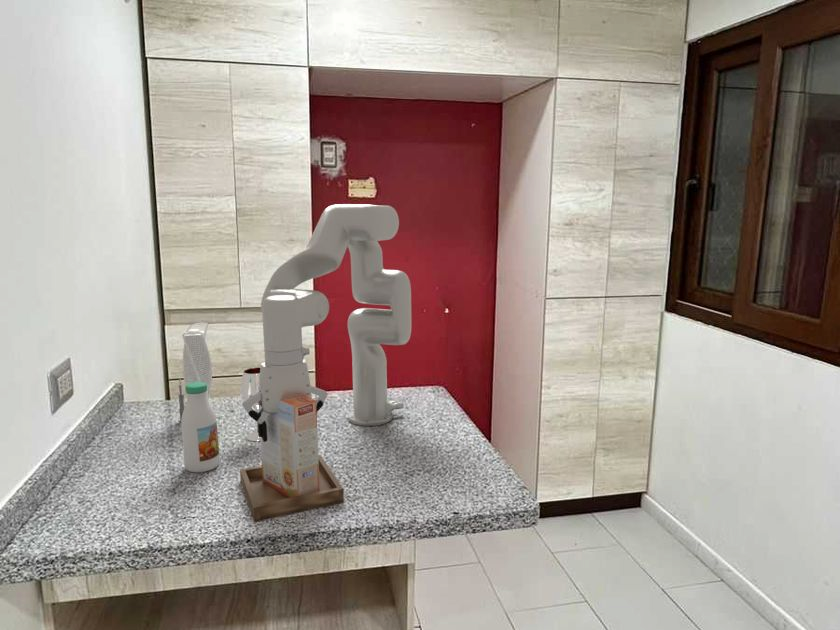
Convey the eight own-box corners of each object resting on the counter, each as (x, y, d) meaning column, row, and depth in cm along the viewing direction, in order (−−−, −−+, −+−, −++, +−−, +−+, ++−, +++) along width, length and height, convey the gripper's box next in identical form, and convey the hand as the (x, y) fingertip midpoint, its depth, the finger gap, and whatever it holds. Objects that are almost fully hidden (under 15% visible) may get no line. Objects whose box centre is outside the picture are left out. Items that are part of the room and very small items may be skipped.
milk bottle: (186, 476, 133) (179, 391, 129) (183, 462, 140) (176, 382, 136) (222, 469, 137) (216, 386, 133) (217, 456, 143) (211, 377, 139)
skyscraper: (205, 413, 172) (197, 319, 167) (222, 419, 168) (215, 323, 162) (178, 422, 166) (170, 325, 160) (195, 429, 161) (187, 328, 156)
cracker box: (321, 494, 123) (318, 399, 119) (296, 505, 119) (292, 406, 115) (285, 472, 133) (281, 383, 129) (261, 481, 129) (256, 390, 125)
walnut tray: (320, 466, 138) (320, 454, 137) (343, 502, 122) (343, 488, 121) (240, 482, 130) (240, 469, 130) (254, 522, 114) (253, 507, 114)
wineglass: (279, 431, 159) (276, 366, 155) (268, 443, 151) (264, 375, 147) (249, 430, 159) (245, 365, 156) (237, 442, 151) (233, 374, 148)
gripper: (320, 347, 127) (323, 422, 130) (237, 356, 120) (242, 435, 123) (330, 356, 120) (333, 435, 124) (242, 366, 113) (248, 449, 117)
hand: (287, 435), depth 123 cm, fingers open, 9 cm apart
